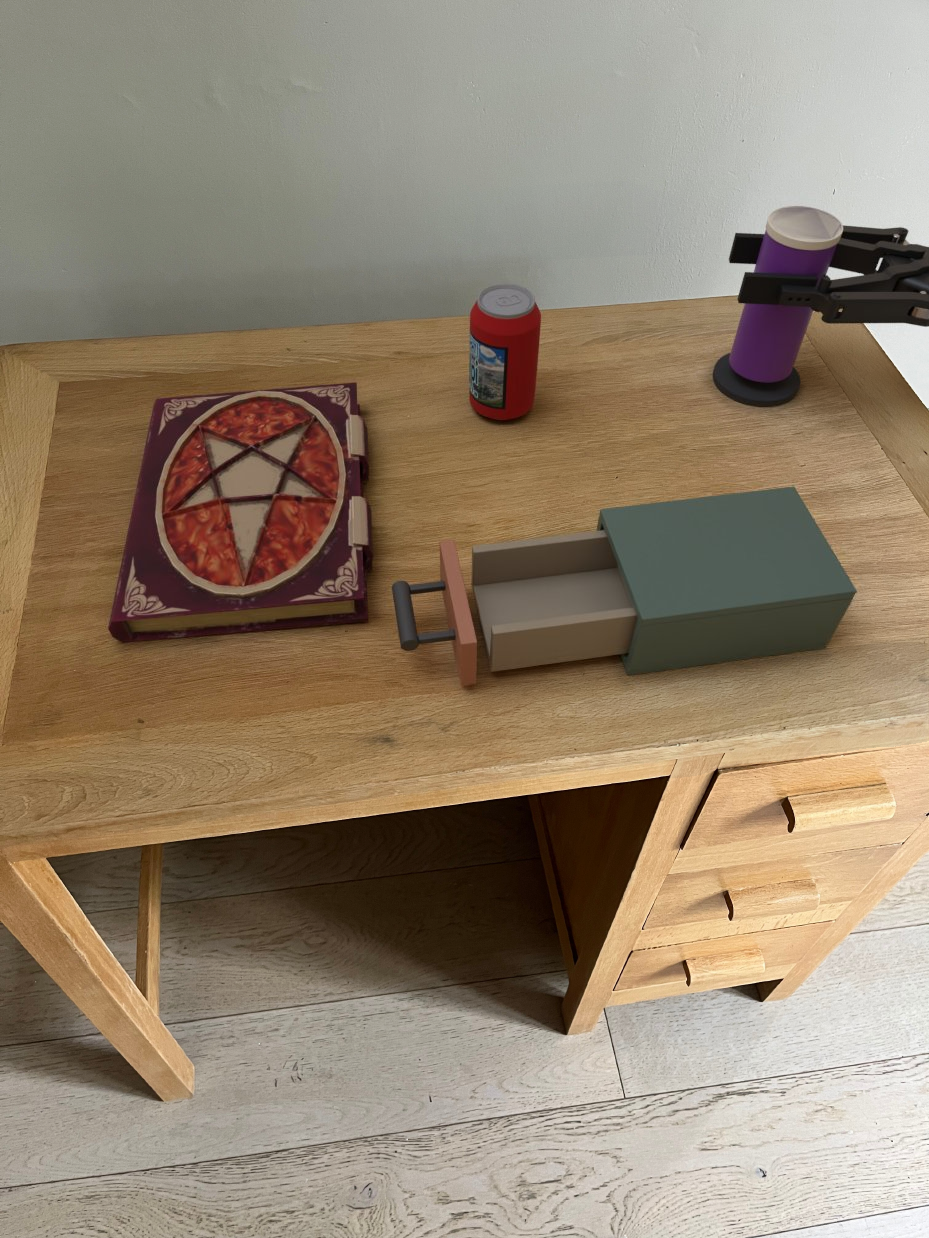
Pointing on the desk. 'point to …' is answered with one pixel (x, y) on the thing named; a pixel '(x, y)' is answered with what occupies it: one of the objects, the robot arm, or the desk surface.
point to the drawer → (528, 603)
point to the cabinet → (725, 578)
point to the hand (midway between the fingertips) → (737, 267)
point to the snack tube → (777, 330)
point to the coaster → (754, 386)
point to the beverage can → (503, 351)
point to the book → (248, 516)
